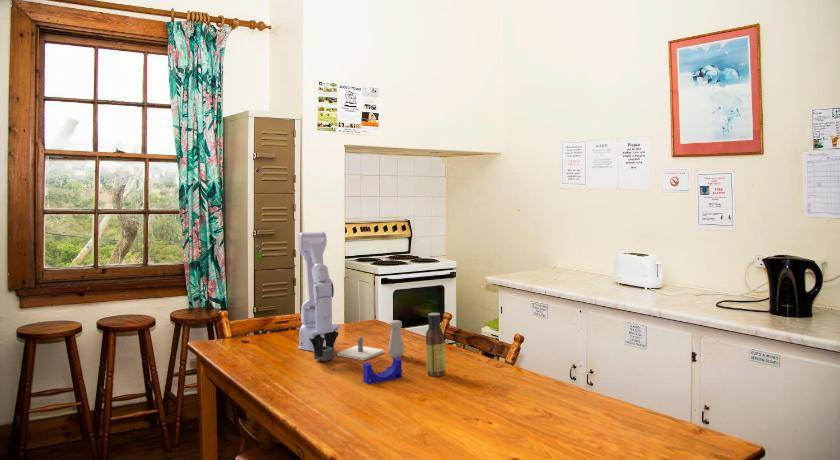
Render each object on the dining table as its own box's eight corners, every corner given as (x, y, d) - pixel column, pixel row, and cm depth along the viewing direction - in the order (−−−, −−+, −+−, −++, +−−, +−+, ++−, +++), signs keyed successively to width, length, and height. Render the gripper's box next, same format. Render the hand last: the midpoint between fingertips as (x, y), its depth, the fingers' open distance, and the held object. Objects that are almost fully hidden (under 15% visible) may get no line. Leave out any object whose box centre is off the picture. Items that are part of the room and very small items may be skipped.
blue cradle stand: (395, 374, 185) (395, 356, 185) (401, 378, 181) (401, 360, 181) (361, 380, 179) (361, 361, 179) (367, 384, 176) (367, 365, 175)
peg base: (337, 355, 206) (337, 339, 206) (357, 347, 216) (357, 332, 216) (363, 360, 200) (363, 343, 200) (383, 352, 210) (383, 336, 210)
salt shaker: (405, 354, 207) (405, 319, 207) (403, 359, 202) (403, 322, 201) (389, 354, 208) (389, 318, 207) (386, 358, 202) (386, 322, 201)
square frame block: (314, 358, 199) (313, 349, 199) (323, 355, 204) (323, 345, 203) (325, 361, 197) (324, 351, 197) (334, 357, 201) (334, 347, 201)
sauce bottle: (448, 372, 187) (448, 312, 185) (442, 378, 181) (442, 316, 180) (429, 370, 189) (429, 311, 188) (423, 376, 183) (422, 315, 182)
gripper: (318, 321, 191) (319, 361, 192) (345, 313, 203) (346, 350, 204) (302, 319, 195) (303, 358, 196) (330, 311, 207) (330, 348, 208)
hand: (324, 354), depth 200 cm, fingers closed on square frame block, 5 cm apart
